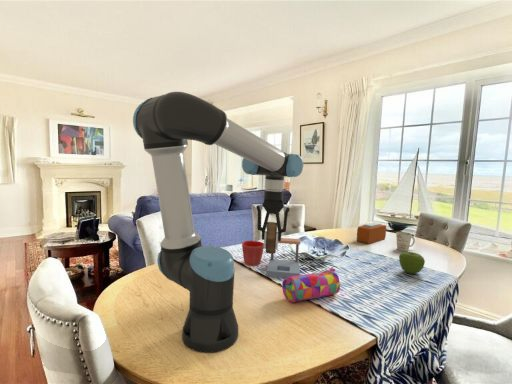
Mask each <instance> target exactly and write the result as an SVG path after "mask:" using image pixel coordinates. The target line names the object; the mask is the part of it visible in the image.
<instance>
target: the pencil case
mask: <svg viewBox="0 0 512 384" xmlns="http://www.w3.org/2000/svg"><path fill="white" fill-rule="evenodd" d="M335 271H336V268H333V267H331V268H329V269H325V270H322V271H320V272H317V273H316V272H315V273H308V274H300V275H299V276H290V277H288V278H283V280H282V285H281V287H282V293H283V296H284V297H285V299H286V300H287V301H288V302H289V303H297V302H301V301H303V302H305V301H309V300H313V299H319V298H322V297H327V296H334V295H336V294H338V293H339V292H340V289H341V284H340V283H341V281H340V278H339V275H338V274H337V273H336V272H335Z"/></svg>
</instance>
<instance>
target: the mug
mask: <svg viewBox="0 0 512 384" xmlns="http://www.w3.org/2000/svg"><path fill="white" fill-rule="evenodd" d="M395 234H396V249H397V250H399V251H403V252H409V249H410V248H411V247H413V246H414V244H416V238H415V237H414V236H413V235H412V233H410V232H405V231H396V233H395ZM411 241H412V242H411ZM410 244H411V245H410Z"/></svg>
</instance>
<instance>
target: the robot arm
mask: <svg viewBox="0 0 512 384" xmlns="http://www.w3.org/2000/svg"><path fill="white" fill-rule="evenodd" d="M132 125H133V129H134V131H135V132H136V134H137V136H139V137H140V138H141V139H142V144H143V149H144V151H145V152H146V153H147V154H149V155H150V157H151V161H152V166H153V173H154V179H155V184H156V190H157V196H158V198H157V199H158V201H159V202H158V203H159V209H160V215H161V221H162V227H163V233H164V238H163V239H162V241H161V242H160V252H158V254H157V260H156V262H157V267H158V270H159V271H160V272H161V274H162V275H163V276H164V277H165V278H166V279H168V281H171V282H173V283H175V284H177V285H178V286H180V287H182V288H184V289H185V290H187V291H189V309H188V312H187V315H186V318H185V321H184V323H183V326H182V335H181V336H182V337H181V339H182V342H183V344H184V345H185V346H186V347H187V348H188V349H190V350H192V351H195V352H199V353H205V354H206V353H208V354H209V353H216V352H220V351H224V350H227V349H228V348H230V347H231V346H233V345H234V344H235V343H236V342H237V340H238V338H239V323H238V321H237V320H238V319H237V318H236V317H237V316H236V314H235V310H234V307H233V306H234V288H235V287H234V285H235V282H234V281H235V271H236V270H235V259H234V256H233V254H232V253H231V252H230V251H228V250H227V249H225V248H222V247H220V246H213V245H202V238H201V235H200V234H198V233H197V232H195V226H194V220H193V219H194V217H193V213H192V206H191V197H190V196H191V195H190V190H189V183H188V182H189V181H188V176H187V169H186V162H185V154H184V153H185V151H186V149H187V148H188V146H189V144H188V141H196V142H199V143H202V144H204V145H207V146H213V145H215V146H218V147H220V148H222V149H223V150H226V151H228V152H230V153H232V154H234V155H237V156H239V157H241V158H242V163H241V168H242V170H243V172H244V173H245V174H247V175H251V176H264V177H265V178H264V189H265V190H264V195H263V202H262V203H261V204H258V205H256V207H255V208H256V210H257V230H258V231H260V232H261V240H262V241H263V243H264V249H263V250H266V236H267V222H269V218H270V215H271V214H273V215H275V219H276V220H275V221H276V223H277V233H276V247H275V250H276V251H277V250H278V246H279V243H278V241H281V238H282V234H283V233H286V232H287V223H288V213H289V212H290V210H291V209H290V206H286V205H285V204H284V187H285V177H286V178H294V177H295V178H296V177H299V176H300V175H301V174H302V173H303V168H304V161H303V157H302V156H301V155H299V154H295V153H287V152H285V151H283V150H281V149H279V148H278V147H277V146H274V145H273V144H271V143H269V142H268V141H266V140H265V139H263V138H261V137H260V136H258V135H256V134H255V133H253V132H252V131H249V130H248V129H246V128H244V127H242V126H241V125H239V124H238V123H236V122H234V121H233V120H231V119H229V118H228V115H227V113H226V112H225V111H223V110H222V109H220V108H219V107H217V105H214V104H212V103H210V102H208V101H206V100H205V99H202V98H200V97H198V96H196V95H194V94H191V93H187V92H183V91H171V92H167V93H165V94H161V95H158V96H153V97H150V98H147V99H145V100H144V101H143V102H141V103H140V104H138V106H137V107H136V108H135V111H134V113H133V115H132ZM263 209H264V211H265V212H266V213H265V217H264V220H263V221H264V222H263V225H262V210H263ZM282 209H283V212H284V215H283V216H284V217H283V226H282V225H281V218H280V212H281V211H282Z"/></svg>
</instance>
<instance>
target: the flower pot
mask: <svg viewBox="0 0 512 384" xmlns="http://www.w3.org/2000/svg"><path fill="white" fill-rule="evenodd" d="M241 248H242V256H243V261H244V264H245V265H247V266H250V267H251V266H259V265H260V264H261V262H262V258H263V252H264V250H265V249H264V242H262V241H259V240H245V241H243V242H242V243H241Z"/></svg>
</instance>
